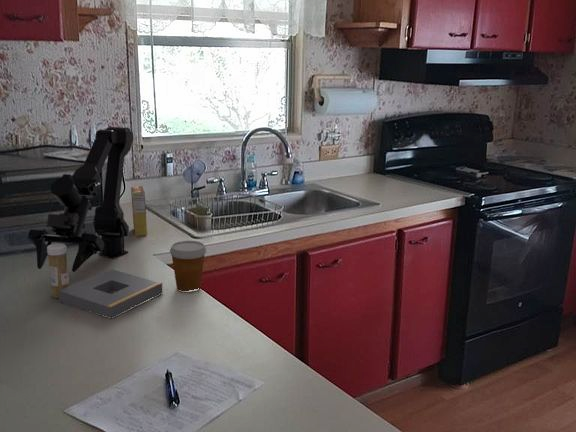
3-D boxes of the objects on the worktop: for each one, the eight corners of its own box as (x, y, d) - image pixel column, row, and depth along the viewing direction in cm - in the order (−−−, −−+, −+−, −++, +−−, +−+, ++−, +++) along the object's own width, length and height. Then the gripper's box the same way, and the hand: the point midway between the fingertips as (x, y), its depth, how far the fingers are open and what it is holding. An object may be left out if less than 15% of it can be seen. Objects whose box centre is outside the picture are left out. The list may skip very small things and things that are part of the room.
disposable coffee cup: (172, 296, 157) (171, 252, 154) (169, 282, 166) (168, 241, 163) (208, 293, 160) (208, 250, 156) (204, 280, 168) (203, 239, 165)
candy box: (132, 228, 212) (130, 186, 208) (145, 228, 213) (143, 185, 209) (134, 236, 204) (132, 192, 200) (147, 235, 205) (145, 191, 201)
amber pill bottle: (72, 296, 155) (68, 246, 152) (53, 300, 153) (49, 249, 149) (67, 290, 159) (63, 241, 155) (49, 293, 156) (45, 244, 153)
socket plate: (112, 279, 167) (111, 268, 166) (162, 294, 158) (162, 282, 157) (59, 301, 152) (58, 289, 151) (111, 319, 143) (110, 306, 142)
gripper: (27, 197, 154) (6, 252, 147) (96, 202, 152) (78, 258, 144) (45, 219, 164) (26, 272, 156) (111, 224, 162) (95, 277, 154)
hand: (55, 269), depth 153 cm, fingers open, 9 cm apart
